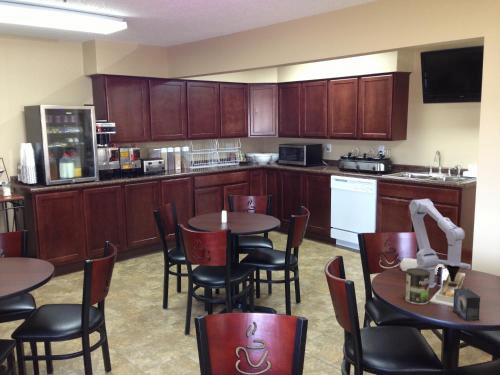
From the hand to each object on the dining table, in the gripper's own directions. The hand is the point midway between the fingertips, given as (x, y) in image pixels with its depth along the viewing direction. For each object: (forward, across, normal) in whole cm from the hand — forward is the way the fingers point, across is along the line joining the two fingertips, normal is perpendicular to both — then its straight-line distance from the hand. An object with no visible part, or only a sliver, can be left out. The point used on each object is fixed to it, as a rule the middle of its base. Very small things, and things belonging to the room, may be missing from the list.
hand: (452, 281), depth 220 cm
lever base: (+7, 0, -2) cm, 8 cm away
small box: (+8, +10, -20) cm, 24 cm away
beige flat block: (+7, 0, -7) cm, 10 cm away
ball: (+5, 0, -8) cm, 9 cm away
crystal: (+8, -22, +28) cm, 37 cm away
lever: (+5, 0, +4) cm, 6 cm away
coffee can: (+8, -12, -16) cm, 21 cm away
